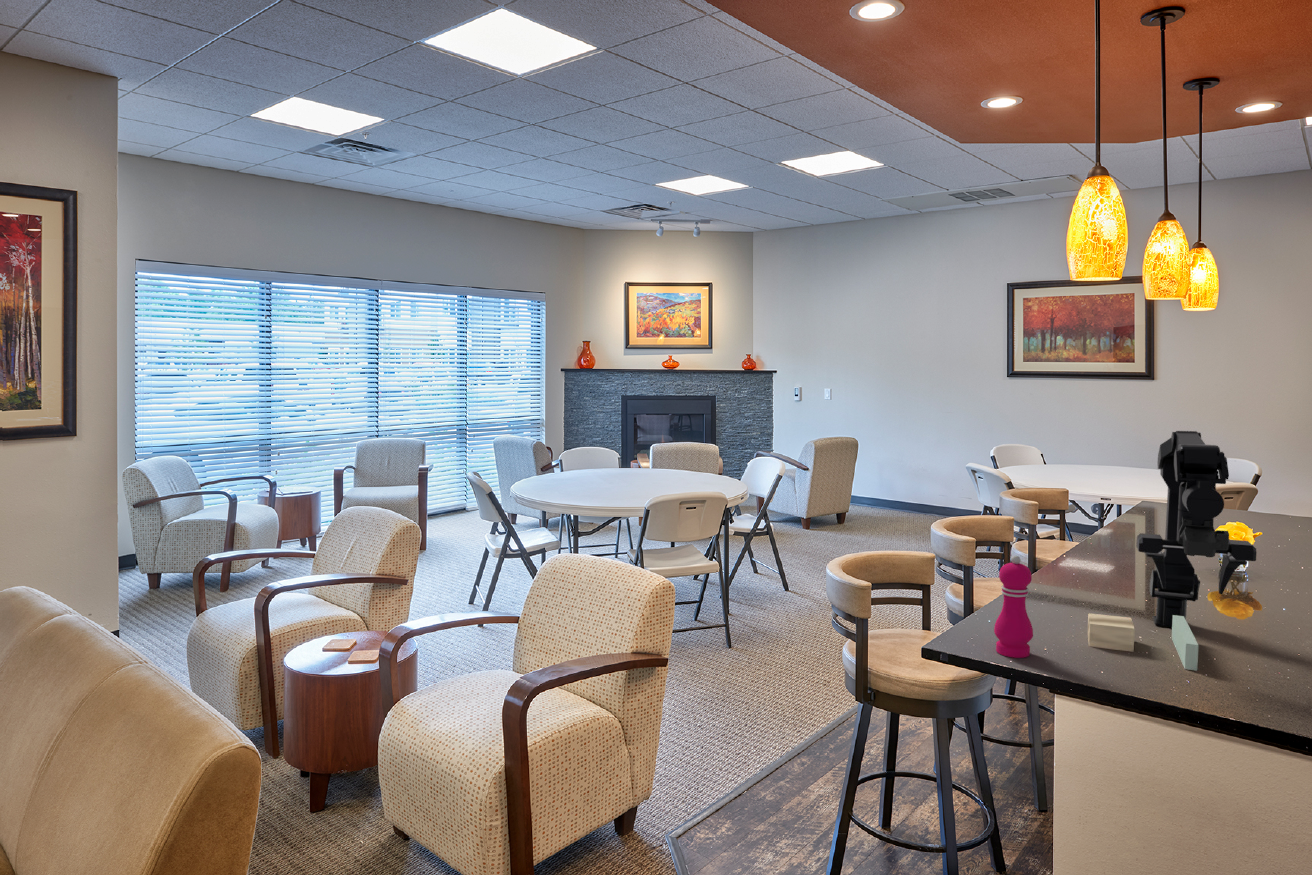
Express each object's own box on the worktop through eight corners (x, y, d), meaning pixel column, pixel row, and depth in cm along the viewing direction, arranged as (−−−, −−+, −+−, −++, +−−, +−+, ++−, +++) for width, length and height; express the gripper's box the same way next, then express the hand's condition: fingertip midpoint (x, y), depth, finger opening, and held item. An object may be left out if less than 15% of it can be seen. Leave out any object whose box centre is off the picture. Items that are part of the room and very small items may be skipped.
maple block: (1087, 635, 178) (1088, 613, 177) (1130, 640, 174) (1131, 617, 174) (1088, 647, 170) (1089, 623, 170) (1133, 652, 167) (1134, 628, 167)
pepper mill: (1002, 644, 172) (1005, 549, 170) (1038, 652, 167) (1041, 555, 165) (987, 652, 167) (990, 555, 165) (1023, 661, 162) (1027, 561, 160)
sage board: (1171, 637, 175) (1172, 614, 175) (1182, 639, 174) (1183, 616, 174) (1184, 668, 157) (1186, 643, 157) (1197, 670, 156) (1198, 644, 156)
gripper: (1143, 513, 154) (1139, 595, 155) (1265, 521, 145) (1260, 608, 147) (1137, 504, 164) (1134, 581, 165) (1252, 511, 155) (1247, 592, 157)
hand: (1191, 590), depth 158 cm, fingers open, 9 cm apart
